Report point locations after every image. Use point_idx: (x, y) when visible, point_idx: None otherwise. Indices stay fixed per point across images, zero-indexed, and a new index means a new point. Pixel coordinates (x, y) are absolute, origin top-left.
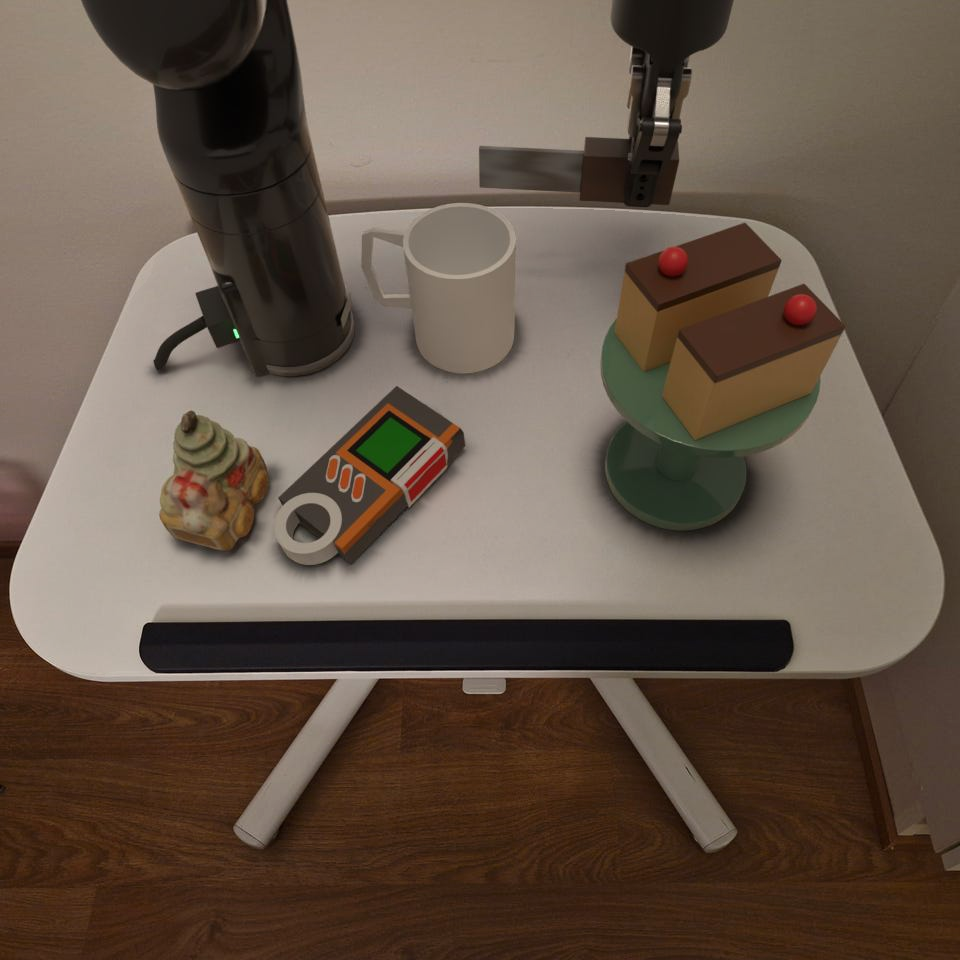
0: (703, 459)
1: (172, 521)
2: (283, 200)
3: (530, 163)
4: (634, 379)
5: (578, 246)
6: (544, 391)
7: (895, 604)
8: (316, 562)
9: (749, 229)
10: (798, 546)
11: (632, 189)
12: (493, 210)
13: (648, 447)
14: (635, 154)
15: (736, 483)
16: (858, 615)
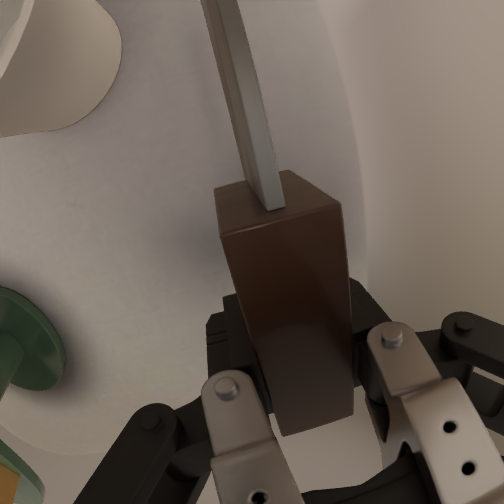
0: (26, 364)
1: None
2: None
3: (217, 30)
4: None
5: (288, 148)
6: (17, 199)
7: (35, 440)
8: None
9: None
10: (26, 408)
11: (207, 344)
12: (22, 30)
13: (6, 324)
14: (90, 489)
15: (26, 385)
16: (17, 427)
